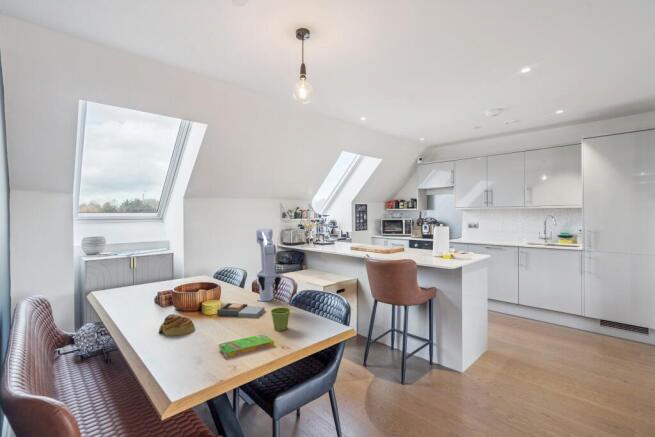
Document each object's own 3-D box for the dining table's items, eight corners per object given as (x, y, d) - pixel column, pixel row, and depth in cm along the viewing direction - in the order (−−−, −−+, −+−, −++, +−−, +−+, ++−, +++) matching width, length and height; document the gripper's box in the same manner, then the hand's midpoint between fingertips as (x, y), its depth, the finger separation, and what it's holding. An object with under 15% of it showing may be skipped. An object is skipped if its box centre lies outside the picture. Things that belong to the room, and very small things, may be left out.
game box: (274, 348, 130) (223, 358, 119) (264, 340, 138) (216, 349, 127) (274, 340, 130) (224, 350, 119) (265, 333, 138) (217, 341, 127)
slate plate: (247, 309, 177) (247, 305, 177) (264, 310, 176) (264, 306, 176) (238, 316, 165) (238, 312, 165) (256, 317, 164) (256, 313, 164)
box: (228, 308, 179) (228, 303, 179) (247, 309, 177) (247, 304, 177) (217, 315, 167) (217, 309, 167) (238, 316, 165) (238, 310, 165)
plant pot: (289, 332, 144) (289, 313, 144) (268, 332, 144) (268, 313, 144) (292, 325, 153) (291, 307, 153) (272, 325, 153) (272, 307, 153)
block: (233, 308, 177) (233, 303, 177) (243, 308, 176) (243, 304, 176) (228, 311, 171) (228, 307, 171) (238, 312, 170) (238, 307, 170)
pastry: (160, 328, 149) (160, 311, 149) (194, 324, 155) (194, 308, 155) (157, 339, 137) (156, 320, 137) (194, 334, 143) (194, 316, 143)
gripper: (254, 267, 175) (254, 291, 176) (279, 268, 173) (279, 292, 173) (259, 265, 182) (259, 288, 183) (283, 265, 180) (283, 289, 180)
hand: (269, 290), depth 178 cm, fingers open, 7 cm apart
